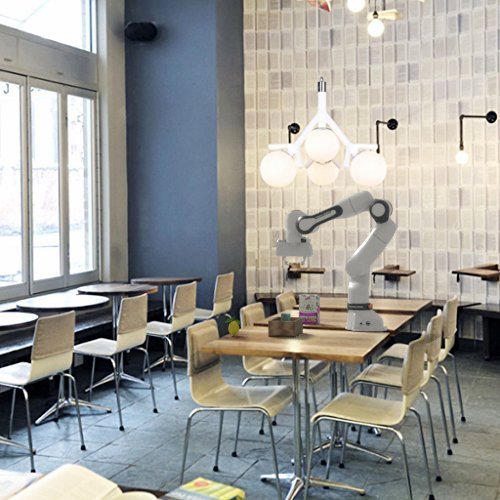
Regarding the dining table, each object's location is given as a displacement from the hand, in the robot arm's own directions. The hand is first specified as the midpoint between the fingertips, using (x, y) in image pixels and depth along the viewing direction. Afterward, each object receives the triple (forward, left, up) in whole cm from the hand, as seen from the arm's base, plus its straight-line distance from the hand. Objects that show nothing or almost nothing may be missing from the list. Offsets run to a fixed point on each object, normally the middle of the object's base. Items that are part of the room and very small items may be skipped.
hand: (294, 264), depth 437 cm
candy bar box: (-5, -14, -34) cm, 37 cm away
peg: (-2, +28, -33) cm, 43 cm away
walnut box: (-2, +28, -34) cm, 44 cm away
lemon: (+23, +38, -34) cm, 56 cm away
